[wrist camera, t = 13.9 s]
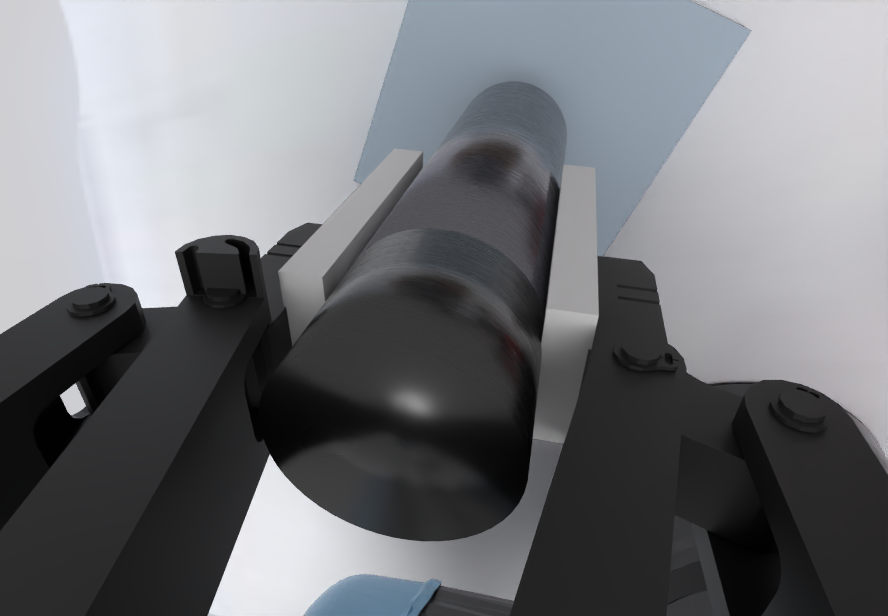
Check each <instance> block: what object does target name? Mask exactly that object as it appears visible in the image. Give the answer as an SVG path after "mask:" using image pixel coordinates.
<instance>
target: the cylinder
mask: <svg viewBox="0 0 888 616" xmlns="http://www.w3.org/2000/svg"><path fill="white" fill-rule="evenodd" d="M566 143H567V128H566V122H565V119H564V116H563V113H562V111H561V109H560V108H559V106H558V105H557V103H556V102H555V101H554V99H553V98H552V97H551V96H550V95H549V94H547V93H546V92H545V91H543V90H542V89H540V88H539V87H536V86H534V85H532V84H528V83H525V82H518V81H509V82H502V83H498V84H495V85H493V86H490V87H488V88H487V89H485V90H483V91H482V92H481V93H479V94H478V95H477V96H476V97H475V98H474V99H473V100H472V101H471V103H470V104H469V105H468V107H467V108H466V109H465V111H464V112H463V113H462V115H461V116H460V118H459V119H458V120H457V122H456V123H455V124H454V126H453V127H452V129H451V130H450V131H449V133H448V134H447V135H446V137H445V138H444V140H443V141H442V142H441V144H440V145H439V146H438V148H437V149H436V151H435V152H434V153H433V155H432V156H431V157H430V159H429V160H428V161H427V163H426V164H425V166H424V167H423V168H422V170H421V171H420V172H419V174H418V175H417V177H416V178H415V179H414V181H413V182H412V183H411V185H410V186H409V188H408V189H407V190H406V192H405V193H404V194H403V196H402V197H401V199H400V200H399V201H398V203H397V204H396V205H395V207H394V208H393V209H392V211H391V212H390V214H389V215H388V216H387V218H386V219H385V220H384V222H383V223H382V225H381V226H380V227H379V229H378V230H377V231H376V233H375V234H374V236H373V237H372V238H371V240H370V241H369V242H368V244H367V245H366V246H365V248H364V249H363V251H362V252H361V253H360V255H359V256H358V257H357V259H356V260H355V262H354V263H353V264H352V266H351V267H350V268H349V270H348V271H347V273H346V274H345V275H344V277H343V278H342V279H341V281H340V282H339V284H338V285H337V286H336V288H335V289H334V290H333V292H332V293H331V294H330V296H329V297H328V299H327V300H326V301H325V303H324V304H323V305H322V307H321V308H320V310H319V311H318V312H317V314H316V315H315V316H314V318H313V319H312V321H311V322H310V323H309V325H308V326H307V327H306V329H305V330H304V332H303V333H302V334H301V336H300V337H299V338H298V340H297V341H296V342H295V344H294V345H293V347H292V348H291V349H290V351H289V352H288V353H287V355H286V356H285V358H284V359H283V360H282V362H281V363H280V364H279V366H278V367H277V369H276V370H275V371H274V373H273V374H272V375H271V377H270V378H269V380H268V381H267V383H266V385H265V387H264V389H263V392H262V395H261V399H260V403H259V422H260V429H261V433H262V436H263V439H264V442H265V444H266V447H267V449H268V451H269V453H270V455H271V456H272V458H273V460H274V461H275V463H276V464H277V466H278V467H279V469H280V470H281V471H282V472H283V474H284V475H285V476H286V477H287V478H288V479H289V480H290V482H291V483H292V484H293V485H294V486H295V487H296V488H297V489H299V490H300V491H301V492H302V493H303V494H304V495H305V496H307V497H308V498H309V499H311V500H312V501H313V502H315V503H316V504H317V505H319V506H320V507H322V508H323V509H325V510H327V511H328V512H330V513H331V514H333V515H335V516H337V517H339V518H341V519H343V520H345V521H347V522H349V523H351V524H354V525H356V526H358V527H361V528H363V529H366V530H369V531H372V532H375V533H378V534H382V535H386V536H390V537H395V538H400V539H406V540H416V541H447V540H455V539H460V538H466V537H469V536H472V535H476V534H479V533H481V532H483V531H486V530H488V529H490V528H492V527H494V526H495V525H497V524H498V523H500V522H501V521H503V520H504V519H505V518H506V517H507V516H508V515H509V514H511V513H512V511H513V510H514V509H515V507H516V506H517V505H518V504H519V502H520V500H521V498H522V496H523V494H524V492H525V488H526V485H527V481H528V473H529V464H530V456H531V447H532V438H533V430H534V421H535V412H536V404H537V395H538V386H539V378H540V369H541V357H542V351H541V341H542V333H543V325H544V316H545V308H546V300H547V292H548V284H549V275H550V267H551V259H552V251H553V242H554V234H555V226H556V218H557V210H558V201H559V193H560V186H561V179H562V172H563V166H564V161H565V152H566Z"/></svg>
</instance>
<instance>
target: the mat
mask: <svg viewBox="0 0 888 616" xmlns="http://www.w3.org/2000/svg"><path fill="white" fill-rule="evenodd" d="M751 31H752V30H750V29H748V28H746V27H744V26H742V25H740V24H738V23H735V22H733V21H731V20H729V19H727V18H725V17H723V16H721V15H719V14H717V13H715V12H713V11H711V10H709V9H707V8H705V7H703V6H700V5H698V4H696V3H694V2H692V1H690V0H409V2H408V5H407V8H406V12H405V15H404V18H403V22H402V25H401V28H400V31H399V35H398V38H397V41H396V44H395V48H394V51H393V54H392V58H391V61H390V64H389V67H388V71H387V74H386V77H385V80H384V84H383V87H382V90H381V93H380V97H379V100H378V103H377V107H376V110H375V113H374V116H373V120H372V123H371V126H370V129H369V133H368V136H367V139H366V143H365V146H364V149H363V152H362V156H361V159H360V162H359V165H358V169H357V172H356V175H355V179H354V181H356V182H358V183H360V184H361V183H362V182H363V181H364V180H365V179H366V178H367V177H368V176H369V175H370V174H371V173H372V172H373V171H374V170H375V169H376V168H377V167H378V166H379V164H380V163H381V162H382V161H383V160H384V159H385V158H386V157H387V156H388V155H389V154H390V153H391V152H392V151H393V150H394V149H404V150H415V151H423V167H424V166H425V164H426V163H427V161H428V160H429V159H430V157H431V156H432V155H433V153H434V152H435V151H436V149H437V148H438V146H439V145H440V144H441V142H442V141H443V140H444V138H445V137H446V135H447V134H448V133H449V131H450V130H451V129H452V127H453V126H454V124H455V123H456V122H457V120H458V119H459V118H460V116H461V115H462V113H463V112H464V111H465V109H466V108H467V107H468V105H469V104H470V103H471V101H472V100H473V99H474V98H475V97H476V96H477V95H478V94H479V93H481V92H482V91H483V90H485V89H487V88H488V87H490V86H493V85H495V84H498V83H502V82H509V81H518V82H525V83H528V84H532V85H534V86H536V87H539V88H540V89H542V90H543V91H545V92H546V93H547V94H549V95H550V96H551V97H552V98H553V99H554V101H555V102H556V103H557V105H558V106H559V108H560V109H561V111H562V113H563V116H564V119H565V122H566V128H567V143H566V152H565V161H564V165H573V166H584V167H594V168H595V179H596V221H597V256H602V257H603V255H604V254H605V252H606V251H607V249H608V248H609V246H610V245H611V243H612V242H613V240H614V239H615V237H616V236H617V234H618V232H619V231H620V229H621V228H622V226H623V225H624V223H625V222H626V220H627V219H628V217H629V216H630V214H631V213H632V211H633V210H634V208H635V207H636V205H637V204H638V202H639V201H640V199H641V198H642V196H643V195H644V193H645V192H646V190H647V188H648V187H649V185H650V184H651V182H652V181H653V179H654V178H655V176H656V175H657V173H658V172H659V170H660V169H661V167H662V166H663V164H664V163H665V161H666V160H667V158H668V157H669V155H670V154H671V152H672V151H673V149H674V148H675V146H676V145H677V143H678V141H679V140H680V138H681V137H682V135H683V134H684V132H685V131H686V129H687V128H688V126H689V125H690V123H691V122H692V120H693V119H694V117H695V116H696V114H697V113H698V111H699V110H700V108H701V107H702V105H703V104H704V102H705V101H706V99H707V97H708V96H709V94H710V93H711V91H712V90H713V88H714V87H715V85H716V84H717V82H718V81H719V79H720V78H721V76H722V75H723V73H724V72H725V70H726V69H727V67H728V66H729V64H730V63H731V61H732V60H733V58H734V57H735V55H736V54H737V52H738V50H739V49H740V47H741V46H742V44H743V43H744V41H745V40H746V38H747V37H748V35H749V34H750V32H751Z"/></svg>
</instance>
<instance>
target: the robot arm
mask: <svg viewBox="0 0 888 616" xmlns="http://www.w3.org/2000/svg"><path fill="white" fill-rule="evenodd" d="M422 168H423V151H415V150H404V149H394V150H393V151H392V152H391V153H390V154H389V155H388V156H387V157H386V158H385V159H384V160H383V161H382V162H381V163H380V164H379V166H378V167H377V168H376V169H375V170H374V171H373V172H372V173H371V174H370V175H369V176H368V177H367V178H366V179H365V180H364V181H363V182H362V183H361V185H360V186H359V187H358V188H357V189H356V190H355V191H354V192H353V193H352V194H351V195H350V196H349V197H348V198H347V199H346V200H345V201H344V202H343V203H342V205H341V206H340V207H339V208H338V209H337V210H336V211H335V212H334V213H333V214H332V215H331V216H330V217H329V218H328V219H327V220H326V221H325V222H324V224H323V225H322V224H314V223H306V224H304V225H302V226H300V227H297V228H295V229H293V230H291V231H289V232H288V233H287V234H286V235H285V236H284V237H282V238H281V239H280V240H279V241H278V242H277V245H274V246H273V247H272V248H271V249H270V250H269V251H268V252H267V255H266V254H265V255H264V256H263V257H262V258H261V259H260V253H259V248H258V246H257V245H256V243H255V242H254V241H252V240H250V239H248V238H245V237H241V236H234V235H221V236H211V237H206V238H202V239H198V240H195V241H193V242H190V243H188V244H185V245H183V246H182V247H181V248H179V249H178V250H177V251H175V254H176V258H177V261H178V265H179V269H180V272H181V276H182V280H183V283H184V287H185V291H186V294H187V296H186V297H185V298H184V299H183V301H182V302H181V303H180V304H179V306H178V307H162V308H142V307H141V304H140V301H139V298H138V295H137V293H136V292H135V291H134V289H133V288H131V287H128V286H126V285H123V284H110V283H102V284H99V285H98V284H93V285H88V286H86V287H85V288H81V289H78V290H74V291H72V292H70V293H68V294H66V295H64V296H62V297H60V298H58V299H57V300H55V301H53V302H52V303H50V304H49V305H47V306H45V307H44V308H42V309H40V310H39V311H37V312H36V313H34V314H32V315H31V316H29V317H27V318H26V319H24V320H23V321H21V322H19V323H18V324H16V325H15V326H13V327H11V328H10V329H8V330H6V331H5V332H3V333H2V334H0V616H207V615H208V613H209V610H210V607H211V605H212V602H213V600H214V597H215V594H216V592H217V589H218V587H219V584H220V581H221V579H222V576H223V574H224V571H225V568H226V566H227V563H228V561H229V558H230V556H231V553H232V550H233V548H234V545H235V543H236V540H237V537H238V535H239V532H240V530H241V527H242V524H243V522H244V519H245V517H246V514H247V511H248V509H249V506H250V504H251V501H252V498H253V496H254V493H255V491H256V488H257V485H258V483H259V480H260V478H261V475H262V472H263V470H264V467H265V465H266V462H267V459H268V457H269V454H270V453H269V451H268V449H267V447H266V444H265V442H264V439H263V436H262V433H261V429H260V422H259V403H260V399H261V395H262V392H263V389H264V387H265V385H266V383H267V381H268V380H269V378H270V377H271V375H272V374H273V373H274V371H275V370H276V369H277V367H278V366H279V364H280V363H281V362H282V360H283V359H284V358H285V356H286V355H287V353H288V352H289V351H290V349H291V348H292V347H293V345H294V344H295V342H296V341H297V340H298V338H299V337H300V336H301V334H302V333H303V332H304V330H305V329H306V327H307V326H308V325H309V323H310V322H311V321H312V319H313V318H314V316H315V315H316V314H317V312H318V311H319V310H320V308H321V307H322V305H323V304H324V303H325V301H326V300H327V299H328V297H329V296H330V294H331V293H332V292H333V290H334V289H335V288H336V286H337V285H338V284H339V282H340V281H341V279H342V278H343V277H344V275H345V274H346V273H347V271H348V270H349V268H350V267H351V266H352V264H353V263H354V262H355V260H356V259H357V257H358V256H359V255H360V253H361V252H362V251H363V249H364V248H365V246H366V245H367V244H368V242H369V241H370V240H371V238H372V237H373V236H374V234H375V233H376V231H377V230H378V229H379V227H380V226H381V225H382V223H383V222H384V220H385V219H386V218H387V216H388V215H389V214H390V212H391V211H392V209H393V208H394V207H395V205H396V204H397V203H398V201H399V200H400V199H401V197H402V196H403V194H404V193H405V192H406V190H407V189H408V188H409V186H410V185H411V183H412V182H413V181H414V179H415V178H416V177H417V175H418V174H419V172H420V171H421V170H422ZM659 302H660V301H659V296H658V292H657V286H656V281H655V276H654V274H653V273H652V272H651V271H650V270H649V269H648V268H647V267H646V266H645V265H644V264H643V263H642V261H636V260H627V259H619V258H611V257H602V256H597V221H596V179H595V168H594V167H584V166H573V165H564V166H563V172H562V179H561V186H560V193H559V201H558V210H557V218H556V226H555V234H554V242H553V251H552V259H551V267H550V275H549V284H548V292H547V300H546V308H545V316H544V325H543V333H542V341H541V351H542V357H541V369H540V378H539V386H538V395H537V404H536V412H535V421H534V430H533V438H532V439H538V440H544V441H549V442H555V443H561V444H564V445H563V448H562V451H561V454H560V457H559V460H558V464H557V467H556V470H555V473H554V476H553V479H552V483H551V486H550V489H549V492H548V495H547V499H546V502H545V505H544V508H543V511H542V514H541V518H540V521H539V524H538V527H537V530H536V533H535V537H534V540H533V543H532V546H531V549H530V552H529V556H528V559H527V562H526V565H525V568H524V571H523V575H522V578H521V581H520V584H519V587H518V590H517V594H516V597H515V600H514V601H511V600H507V599H502V598H497V597H492V596H487V595H483V594H478V593H473V592H468V591H463V590H459V589H454V588H449V587H444V586H440V585H441V581H439V580H435V579H431V580H429V581H427V582H426V583H424V582H417V581H410V580H403V579H397V578H390V577H383V576H377V575H368V574H360V575H355V576H350V577H347V578H345V579H343V580H341V581H339V582H337V583H336V584H334V585H333V586H331V587H330V588H329V589H327V590H326V591H325V592H324V593H323V594H322V595H321V596H320V597H319V598H318V599H317V600H316V601H315V602H314V603H313V604H312V605H311V606H310V608H309V609H308V610H307V611H306V613H305V614H304V615H303V616H888V459H887V458H886V456H885V454H884V452H883V451H882V449H881V447H880V445H879V444H878V442H877V441H876V439H875V437H874V436H873V435H872V434H871V432H870V431H869V430H868V429H867V428H866V427H865V426H864V425H863V424H862V423H861V422H860V421H859V420H858V419H856V418H855V417H854V416H853V415H851V414H850V413H848V412H847V411H845V410H844V409H843V408H842V407H841V406H840V405H839V404H837V403H836V402H834V401H833V400H831V399H830V398H828V397H827V396H825V395H824V394H823V393H820V392H818V391H816V390H814V389H811V388H809V387H807V386H804V385H802V384H797V383H793V382H788V381H784V380H763V381H760V382H757V383H755V384H725V385H715V386H711V385H708V384H706V383H704V382H701V381H699V380H698V379H696V378H694V377H693V376H691V375H689V374H688V373H687V372H686V366H685V362H684V358H683V357H682V356H681V355H680V354H679V353H678V351H677V350H676V349H675V348H674V347H672V346H671V345H669V344H668V343H667V337H666V332H665V327H664V322H663V317H662V312H661V307H660V305H659ZM75 383H76V384H77V387H78V389H79V391H80V393H81V396H82V398H83V400H84V402H85V404H86V407H85V408H84V409H82V410H81V411H80V412H78V413H76V414H74V415H72V416H71V415H70V414H69V413H68V412H67V410H66V407H65V405H64V403H63V401H62V399H61V397H60V395H61V394H62V393H63V392H65V391H66V390H67V389H68V388H70V387H71V386H72V385H73V384H75Z"/></svg>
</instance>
